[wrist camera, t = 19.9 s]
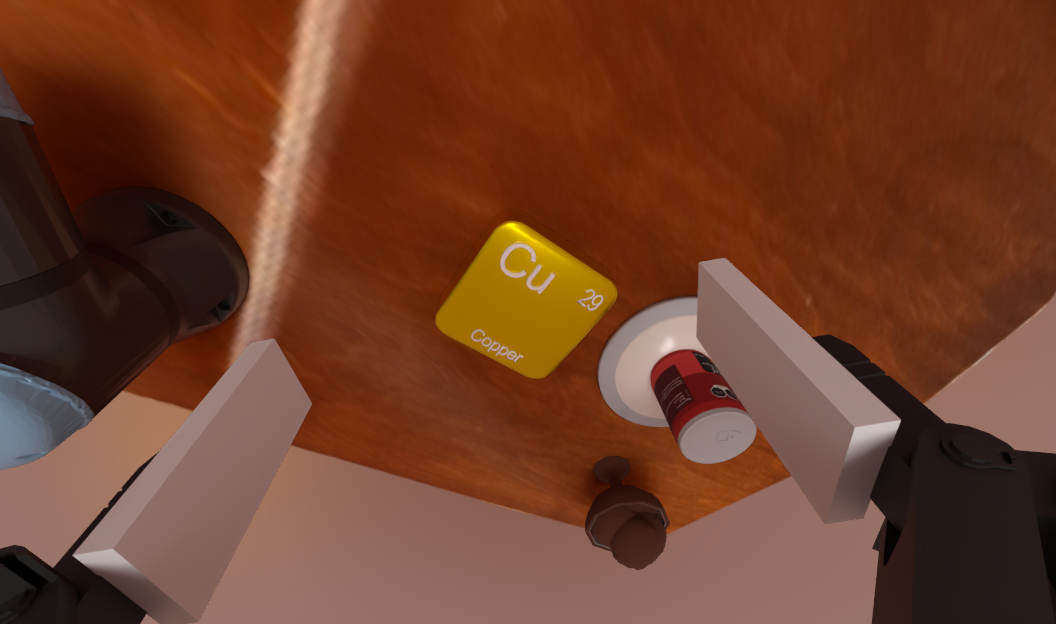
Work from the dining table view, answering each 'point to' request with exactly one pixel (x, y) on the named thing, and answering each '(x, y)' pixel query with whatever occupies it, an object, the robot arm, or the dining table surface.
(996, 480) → the robot arm
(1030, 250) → the dining table surface
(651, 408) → the dish
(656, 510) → the ice cream bowl
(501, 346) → the element tile
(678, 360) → the canned food
